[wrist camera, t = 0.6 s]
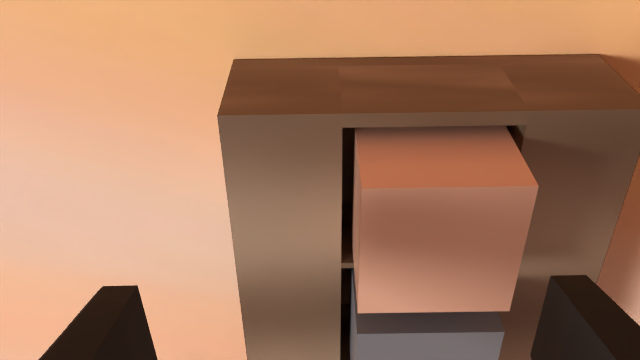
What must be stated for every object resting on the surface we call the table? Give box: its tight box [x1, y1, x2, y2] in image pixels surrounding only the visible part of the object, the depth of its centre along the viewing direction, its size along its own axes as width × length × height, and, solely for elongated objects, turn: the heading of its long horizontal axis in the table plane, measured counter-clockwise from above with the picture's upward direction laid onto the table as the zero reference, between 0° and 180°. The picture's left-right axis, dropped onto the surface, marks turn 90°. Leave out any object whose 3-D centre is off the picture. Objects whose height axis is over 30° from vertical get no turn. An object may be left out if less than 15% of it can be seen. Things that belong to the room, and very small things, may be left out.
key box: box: [217, 54, 640, 360], centre depth 21 cm, size 15×11×4 cm
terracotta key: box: [352, 125, 539, 313], centre depth 16 cm, size 4×4×3 cm
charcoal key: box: [349, 268, 505, 360], centre depth 19 cm, size 4×4×3 cm
